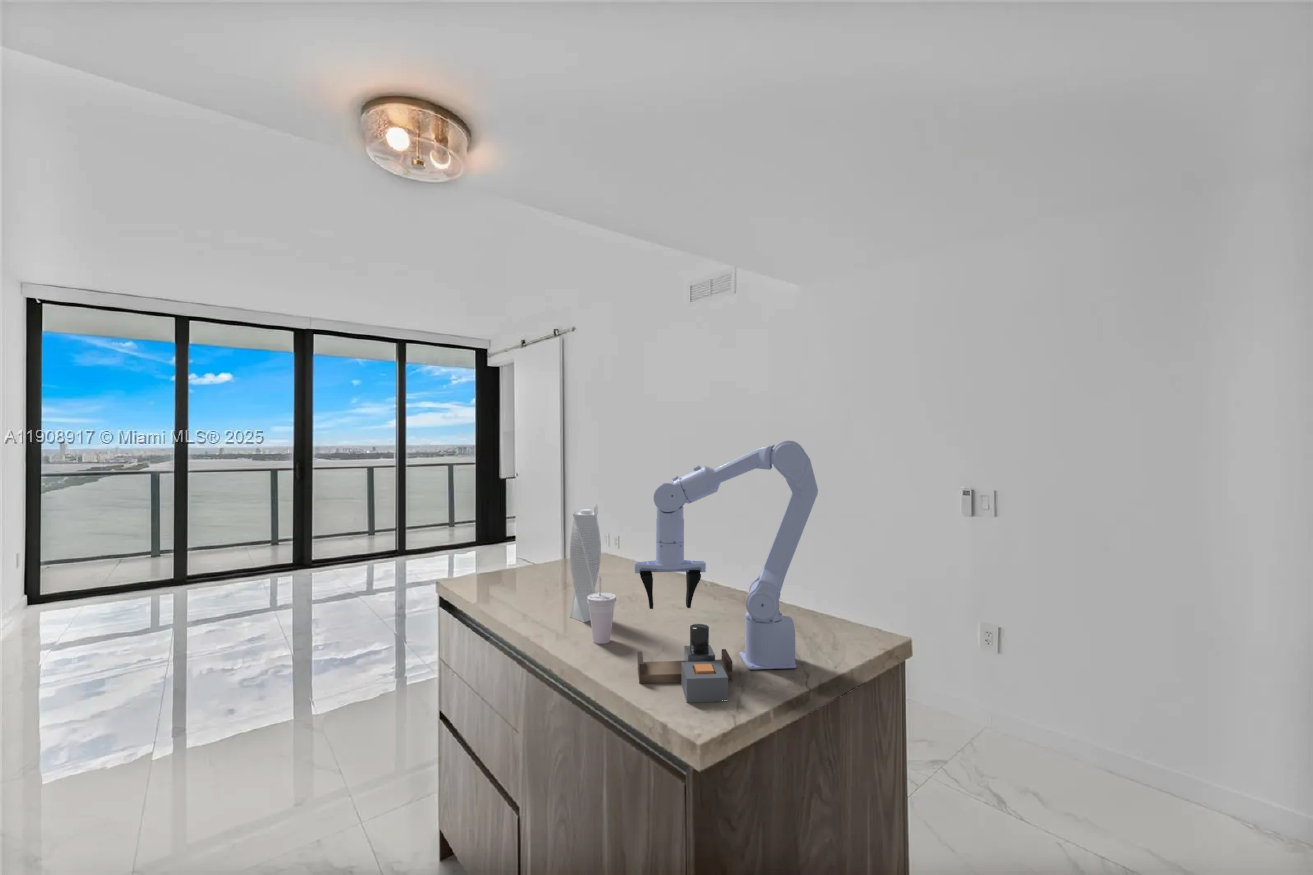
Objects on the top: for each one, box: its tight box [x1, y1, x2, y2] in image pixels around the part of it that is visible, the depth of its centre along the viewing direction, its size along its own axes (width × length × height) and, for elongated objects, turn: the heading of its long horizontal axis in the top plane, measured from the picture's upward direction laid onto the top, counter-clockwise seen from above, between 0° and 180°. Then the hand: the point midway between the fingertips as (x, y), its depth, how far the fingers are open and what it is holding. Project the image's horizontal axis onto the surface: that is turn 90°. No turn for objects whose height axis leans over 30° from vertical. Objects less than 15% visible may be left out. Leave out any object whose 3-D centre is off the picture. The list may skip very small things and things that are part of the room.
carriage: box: [683, 623, 716, 662], centre depth 107 cm, size 5×5×7 cm
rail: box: [637, 648, 733, 684], centre depth 106 cm, size 17×6×4 cm, turn 95°
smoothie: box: [587, 575, 617, 645], centre depth 124 cm, size 6×6×14 cm
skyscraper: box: [569, 503, 602, 623], centre depth 140 cm, size 8×8×28 cm
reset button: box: [694, 664, 714, 674], centre depth 99 cm, size 3×3×4 cm
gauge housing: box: [680, 661, 729, 704], centre depth 99 cm, size 7×7×4 cm
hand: (669, 607), depth 117 cm, fingers open, 7 cm apart
